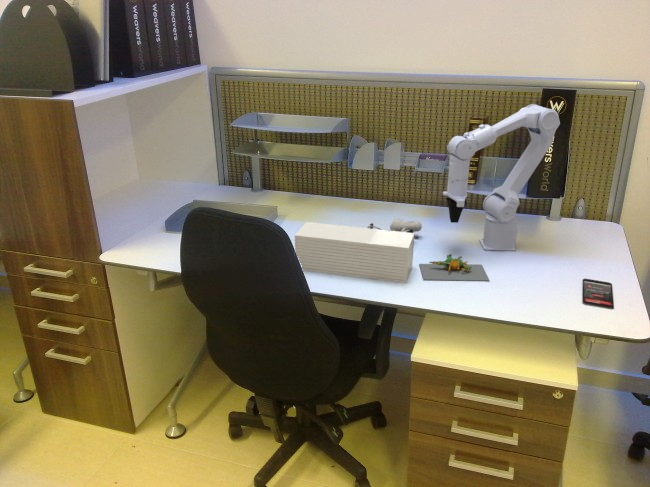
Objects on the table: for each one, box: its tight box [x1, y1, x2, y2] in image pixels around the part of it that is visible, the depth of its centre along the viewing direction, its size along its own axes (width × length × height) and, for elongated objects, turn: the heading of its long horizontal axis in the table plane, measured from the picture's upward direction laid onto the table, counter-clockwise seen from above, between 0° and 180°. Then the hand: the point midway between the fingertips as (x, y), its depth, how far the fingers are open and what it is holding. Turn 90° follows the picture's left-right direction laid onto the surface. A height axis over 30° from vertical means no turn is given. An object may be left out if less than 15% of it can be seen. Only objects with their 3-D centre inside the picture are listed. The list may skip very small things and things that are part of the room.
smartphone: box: [581, 278, 615, 310], centre depth 150 cm, size 7×1×15 cm
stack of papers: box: [294, 221, 415, 284], centre depth 163 cm, size 32×11×11 cm, turn 74°
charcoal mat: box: [419, 263, 491, 282], centre depth 162 cm, size 18×10×1 cm, turn 88°
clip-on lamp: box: [366, 218, 423, 238], centre depth 185 cm, size 12×6×18 cm
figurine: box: [428, 253, 472, 272], centre depth 163 cm, size 3×12×8 cm
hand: (454, 221), depth 172 cm, fingers closed
